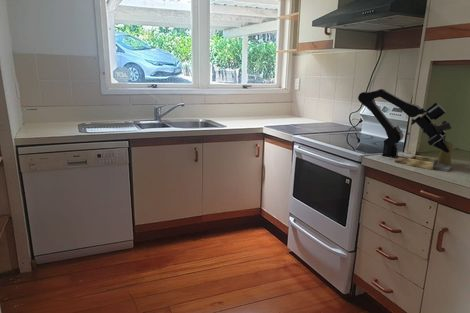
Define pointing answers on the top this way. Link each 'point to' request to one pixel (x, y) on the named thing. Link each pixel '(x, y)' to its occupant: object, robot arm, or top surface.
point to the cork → (445, 155)
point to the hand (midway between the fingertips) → (449, 151)
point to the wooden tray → (423, 163)
